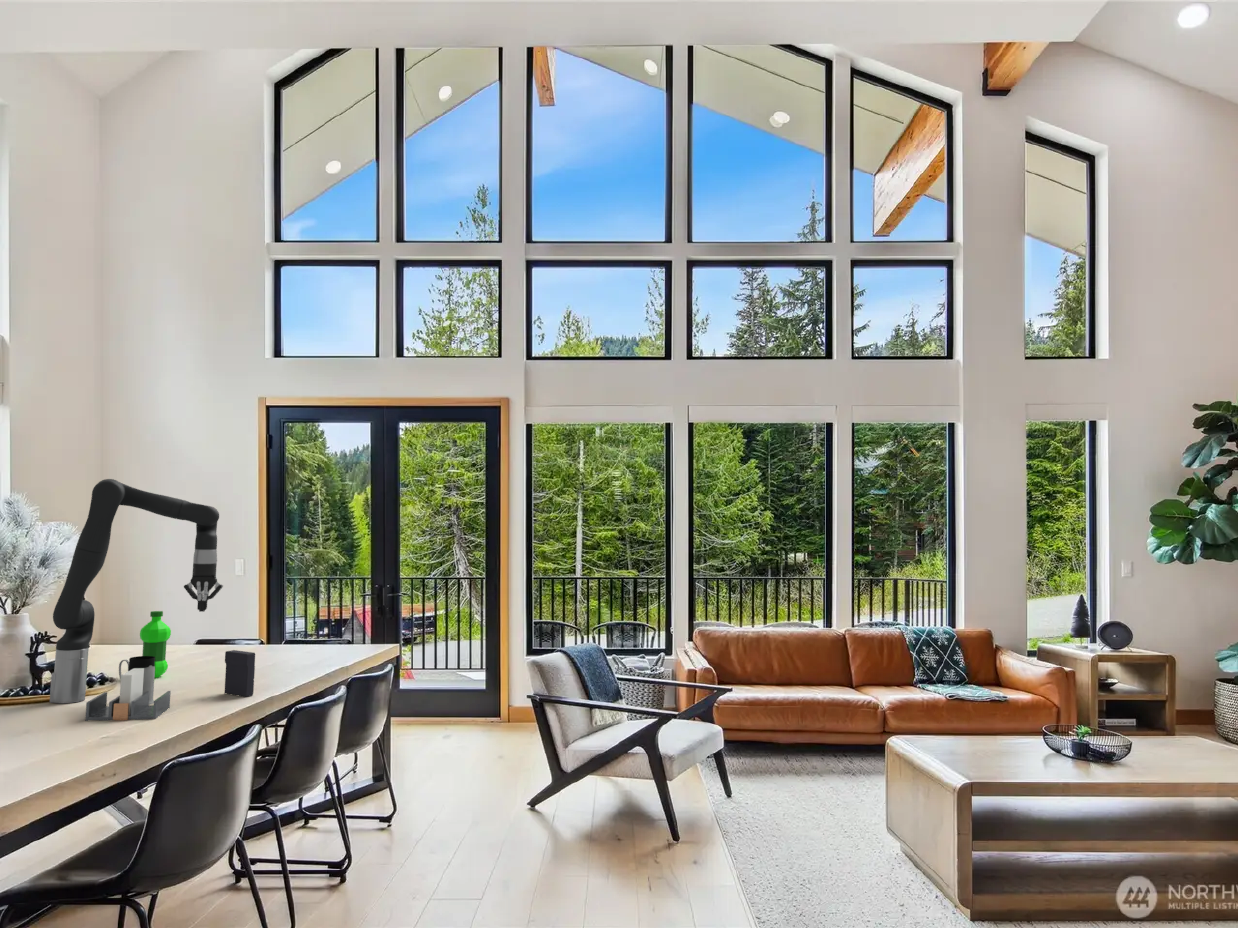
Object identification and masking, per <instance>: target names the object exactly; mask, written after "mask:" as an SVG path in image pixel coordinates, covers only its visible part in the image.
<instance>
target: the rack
mask: <svg viewBox="0 0 1238 928" xmlns="http://www.w3.org/2000/svg"><path fill="white" fill-rule="evenodd" d="M171 694H172V693H171V690H167V691H166V692H164V693H163V694H162V695H160V696H159V697H157V698H156V699H154V703H153V704H150V705H149V696H150V691H147V692H145V693H144V694H142V695H141V696H139V697H138V698H136V699H135V700H133V701H132V704H131V714H128V712H129V703H119V700H120V695H118V696H117V697H115V698H113V699H111V700H110V701H109V702H108V706H107V701H108V700H107V699H108V692H107V691H106V692H105V691H104V692H102V693H101V694H99V695H97V696H96V697H94V698H92V699H90V700H88V701H87V702H86V704H85V705H86V706H85V717H84V718H85V722H89V721H88V720H99V721H113V720H115V721H130V720H131V719H135V720H156V719H157V718H158V716H159V717H160V716H161V715H162V713H163V712H164V713H165V712H167V711H168V710H169V709H170V707H171V706H170V705H171ZM168 708H169V709H168ZM167 709H168V710H167ZM164 713H163V714H164ZM131 721H132V720H131Z"/></svg>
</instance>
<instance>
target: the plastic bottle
mask: <svg viewBox="0 0 1238 928" xmlns="http://www.w3.org/2000/svg"><path fill="white" fill-rule="evenodd" d="M163 616H164V611H163V610H155V611H154V610H153V611H150V617H151V620H150V621H149V622H147V624H145V625H144V626H143V627H141V629H140V631H139V639H140V640H141V641H142V655H141V656H154V657H155V677H154V679H156V678H161V677H162V676H163V675H164V674H165V673H166V672H167V670H168V666H169V664H168V662H167V660H166V653H167V641H168V640H170V637H171V635H172V630H171V628H170V626H168V624H166V623H165V622H164V621H162V617H163Z"/></svg>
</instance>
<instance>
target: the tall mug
mask: <svg viewBox="0 0 1238 928" xmlns="http://www.w3.org/2000/svg"><path fill="white" fill-rule="evenodd" d="M123 662H126V664H127V672H128V671H130V670H132V669H134V668H144V677H143V693H142V694H144V693H145V692H147V691H150V696H149V705H154V701H155V699H154V691H155V678H154V677H155V657H154V656H142V655H139V656H131V657H130V658H129V659H122V660H121V661H120V662H119V663H118V675H119V680H120V681H121V675H123V674H122V664H123Z"/></svg>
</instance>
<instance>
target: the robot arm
mask: <svg viewBox="0 0 1238 928" xmlns="http://www.w3.org/2000/svg"><path fill="white" fill-rule="evenodd" d="M90 499H91V500H90V504H89V505H90V506H89V510H88V515H87V519H86V521H85V524H84V526H83V528H82V530H81V532H80V535H79V538H78V540H77V543H76V545H75V549H74V551H73V556H72V560H71V563H70V567H69V569H68V572H67V576H66V579H65V582H64V585H63V589H62V591H61V593H60V595H59V597H58V599H57V602H56V604H55V606H54V610H53V613H52V619H53V623H54V625H55V627H56V628H57V629H59V630H65V632H64V634H63V635H62V636H61V637H60V638H59V639H58V640H57V641H56V643H55V659H54V668H53V669H54V671H53V672H52V673H51V677H50V690H49V691H50V693H49V703H53V704H71V703H78V702H82V701H84V700H85V699H86V694H87V693H86V692H87V691H86V690H87V677H88V676H87V675H88V664H89V663H88V660H89V649H90V648H89V647H90V646H89V645H90V642H91V641H92V638H93V633H94V626H95V616H96V615H95V609H94V606H93V604H92V603H91V602H90V601H88V600H86V599H84V598H85V594H86V591H87V590H88V588H89V586H90V585H91V584H92V582H93V581H94V580H95V578H96V577H97V575H98V574H99V573H100V572H101V570H102V569H103V567H104V564H105V561H106V557H107V554H108V550H109V548H110V547H109V546H110V543H111V534H112V526H113V522H114V519H115V516H116V514H117V512H118V510H119V509H118V508H119V507H120V506H125V507H126V506H127V507H131V508H132V507H133V508H137V509H140V510H144V511H146V512H150V513H153V514H156V515H159V516H162V517H167V518H170V519H173V520H174V519H175V520H181V521H187V522H190V523H195V525H196V526H195V529H196V530H195V531H196V532H195V533H196V535H195V541H194V542H195V543H194V553H193V559H192V560H193V562H192V563H193V564H192V574H191V575H192V577H191V579H190V581H189V582H188V583H187V584H184V585H183V589H185V591H186V592H187V593H188V595H189V596H190V598H191V599H192V600H196V601H197V608H196V609H197V611H199V612H202V613H203V612H205V611H206V610H207V609H208V601H209V600H211V599H214V597H216V596H217V594H218V593H219V592H220V591H221V590H222V589H223V588H224V585H223V584H221V583H220V582H218V578H217V563H218V551H217V550H218V549H217V548H218V536H217V535H218V534H217V532H218V531H217V529H218V521H219V519H220V512H219V510H218V509H217V507H216V508H215V507H214V506H210V505H206V504H201V503H200V504H199V503H196V502H191V501H187V500H185V499H180V498H178V497H172V496H169V495H163V494H159V493H154V492H151V491H150V492H148V491H145V490H142V489H138V488H136V487H132V486H129V485H127V484H124V483H122V482H120V481H118V480H116V479H114V478H105V479H102V480H100V481H98V482H97V483H96V484H95V486H94V487H93V488H92V492H91V498H90ZM193 587H194V589H195V590H196V592H195V591H194V589H193ZM213 588H214V590H213V591H212V592H211V593H210V591H211V590H212V589H213Z"/></svg>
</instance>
